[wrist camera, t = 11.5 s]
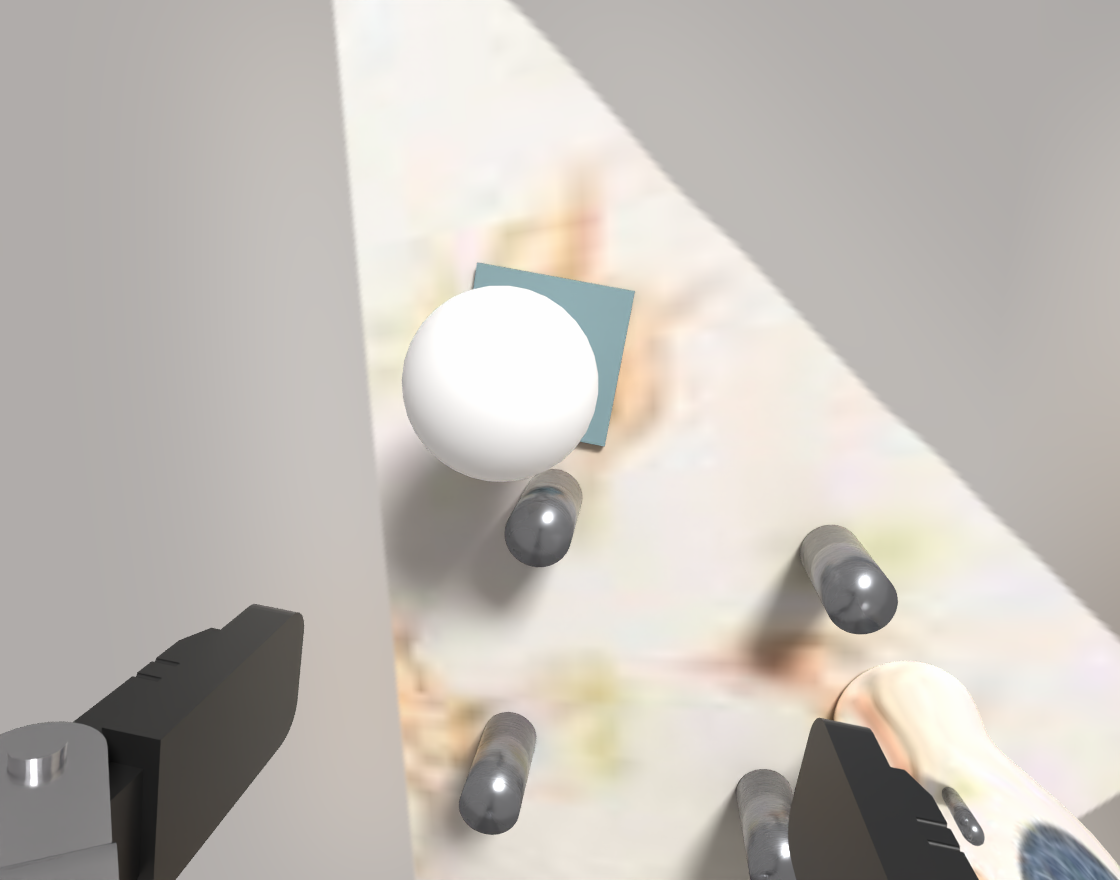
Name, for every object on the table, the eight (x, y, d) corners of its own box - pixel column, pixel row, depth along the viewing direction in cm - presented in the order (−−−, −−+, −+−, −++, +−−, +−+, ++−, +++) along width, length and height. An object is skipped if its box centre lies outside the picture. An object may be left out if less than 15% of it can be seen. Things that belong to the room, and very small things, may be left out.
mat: (605, 444, 33) (604, 446, 33) (456, 414, 33) (454, 416, 33) (634, 291, 31) (634, 291, 31) (479, 262, 32) (477, 262, 31)
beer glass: (954, 627, 33) (1197, 911, 18) (1009, 763, 34) (1279, 1133, 19) (798, 681, 34) (909, 986, 20) (855, 810, 35) (1000, 1190, 21)
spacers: (784, 822, 36) (805, 909, 31) (480, 753, 37) (455, 826, 32) (867, 531, 32) (906, 578, 28) (530, 464, 33) (510, 497, 29)
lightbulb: (439, 385, 33) (340, 443, 22) (503, 254, 31) (429, 247, 21) (566, 453, 33) (529, 544, 22) (636, 325, 31) (631, 355, 21)
